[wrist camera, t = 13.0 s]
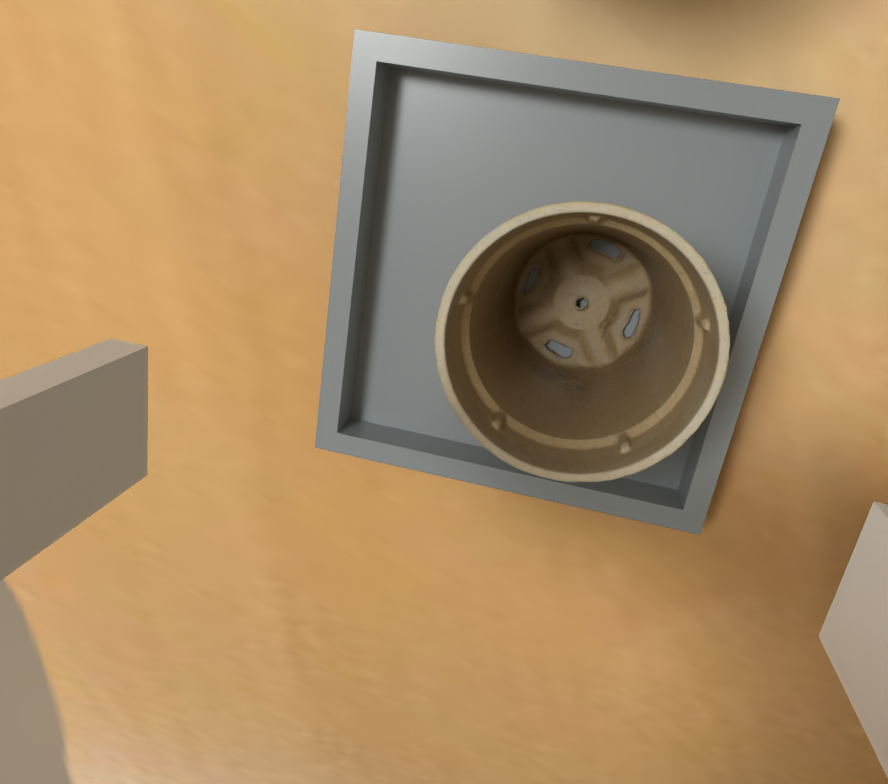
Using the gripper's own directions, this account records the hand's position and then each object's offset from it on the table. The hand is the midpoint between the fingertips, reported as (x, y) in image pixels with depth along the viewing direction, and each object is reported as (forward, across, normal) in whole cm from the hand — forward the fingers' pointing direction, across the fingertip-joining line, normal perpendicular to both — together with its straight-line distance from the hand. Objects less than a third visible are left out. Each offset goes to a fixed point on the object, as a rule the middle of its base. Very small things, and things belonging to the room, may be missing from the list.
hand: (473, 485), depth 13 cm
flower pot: (+20, -2, 0) cm, 20 cm away
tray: (+20, 0, 0) cm, 21 cm away
